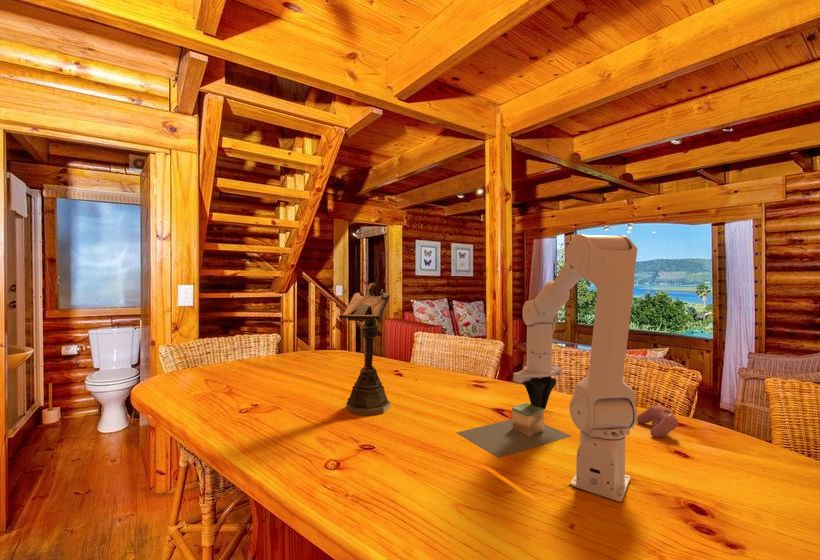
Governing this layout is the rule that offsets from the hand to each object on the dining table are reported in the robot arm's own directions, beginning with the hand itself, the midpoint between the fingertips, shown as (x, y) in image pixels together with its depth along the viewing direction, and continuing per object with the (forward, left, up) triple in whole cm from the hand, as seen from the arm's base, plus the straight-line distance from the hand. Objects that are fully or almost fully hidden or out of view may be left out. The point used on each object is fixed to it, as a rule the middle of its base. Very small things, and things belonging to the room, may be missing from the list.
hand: (538, 408), depth 91 cm
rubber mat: (-8, +3, -5) cm, 10 cm away
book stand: (-17, +40, -5) cm, 44 cm away
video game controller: (+18, -22, -5) cm, 29 cm away
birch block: (-3, +1, -4) cm, 5 cm away
